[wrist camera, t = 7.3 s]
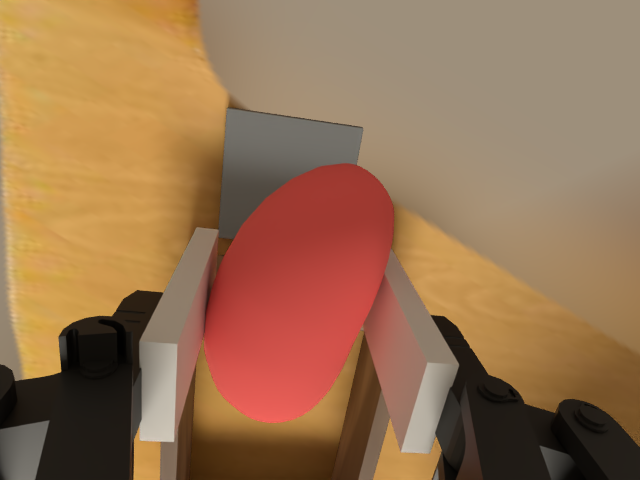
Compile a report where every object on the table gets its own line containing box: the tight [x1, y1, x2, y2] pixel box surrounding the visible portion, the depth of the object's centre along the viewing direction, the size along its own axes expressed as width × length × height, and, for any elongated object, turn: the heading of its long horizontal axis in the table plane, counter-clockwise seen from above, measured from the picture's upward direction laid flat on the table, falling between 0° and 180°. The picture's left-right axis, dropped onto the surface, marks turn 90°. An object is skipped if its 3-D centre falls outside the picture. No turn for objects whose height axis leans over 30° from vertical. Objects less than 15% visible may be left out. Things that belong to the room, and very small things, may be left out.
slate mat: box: [218, 107, 363, 239], centre depth 27 cm, size 8×8×1 cm
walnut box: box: [160, 255, 390, 480], centre depth 31 cm, size 14×23×6 cm, turn 171°
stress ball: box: [204, 163, 394, 423], centre depth 14 cm, size 5×9×6 cm
